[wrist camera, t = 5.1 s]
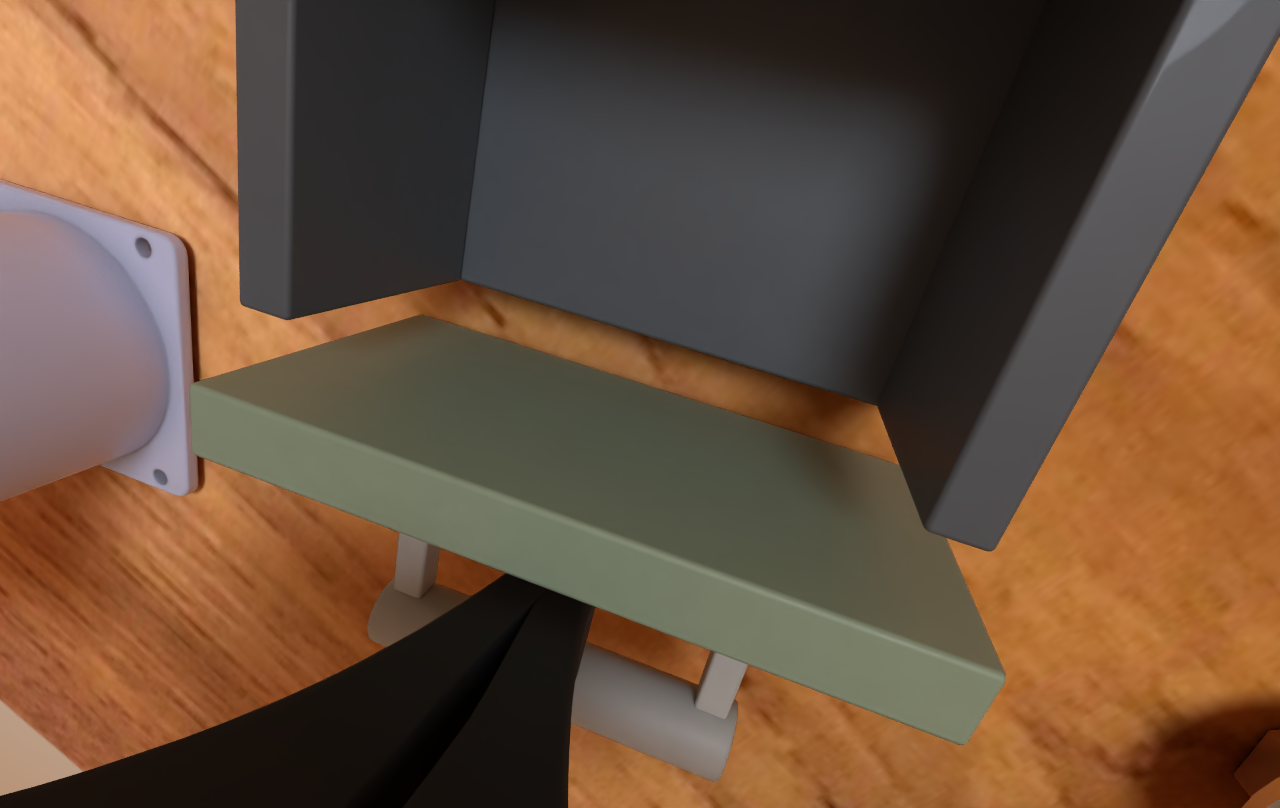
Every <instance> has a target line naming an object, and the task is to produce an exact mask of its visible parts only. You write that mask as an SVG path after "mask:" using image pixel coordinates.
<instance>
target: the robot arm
mask: <svg viewBox="0 0 1280 808" xmlns="http://www.w3.org/2000/svg"><path fill="white" fill-rule="evenodd" d="M192 383H194V377H193V356H192V335H191V313H190V292H189V271H188V255H187V250H186V248H185V246H184V244H183V242H182V241H181V240H180V239H179V238H178V237H177V236H176V235H174V234H172V233H170V232H166V231H163V230H160V229H157V228H154V227H151V226H147V225H144V224H141V223H138V222H135V221H132V220H128V219H125V218H122V217H119V216H116V215H112V214H109V213H106V212H103V211H100V210H97V209H93V208H90V207H87V206H84V205H81V204H78V203H74V202H71V201H68V200H65V199H62V198H59V197H55V196H52V195H49V194H46V193H43V192H40V191H36V190H33V189H30V188H27V187H24V186H21V185H17V184H14V183H11V182H8V181H5V180H2V179H0V502H2V501H4V500H7V499H10V498H12V497H15V496H18V495H20V494H23V493H26V492H28V491H31V490H34V489H36V488H39V487H41V486H44V485H47V484H49V483H52V482H55V481H57V480H60V479H63V478H65V477H68V476H71V475H73V474H76V473H79V472H81V471H84V470H87V469H89V468H92V467H95V466H97V465H100V466H102V467H105V468H107V469H110V470H112V471H115V472H118V473H120V474H123V475H125V476H128V477H130V478H133V479H135V480H138V481H140V482H143V483H146V484H148V485H151V486H153V487H156V488H158V489H161V490H163V491H166V492H168V493H171V494H173V495H176V496H181V497H182V496H185V495H187V494H189V493H192V492H194V491H195V490H196V489H197V488H198V462H197V456H196V455H195V454H194V453H193V451H192V442H191V422H190V403H189V387H190V385H191V384H192ZM594 610H595V607H594V606H592V605H589V604H586V603H584V602H581V601H579V600H576V599H573V598H571V597H568V596H565V595H563V594H560V593H557V592H555V591H552V590H550V589H547V588H544V587H542V586H539V585H536V584H534V583H531V582H528V581H526V580H523V579H521V578H518V577H515V576H513V575H510V574H507V573H505V574H504V575H503V576H501V577H500V578H498V579H497V580H495V581H494V582H492V583H491V584H489V585H488V586H486V587H485V588H483V589H482V590H480V591H479V592H477V593H476V594H474V595H473V596H471V597H470V598H468V599H467V600H465V601H464V602H462V603H461V604H459V605H457V606H456V607H454V608H453V609H451V610H449V611H448V612H446V613H444V614H443V615H441V616H440V617H438V618H436V619H435V620H433V621H431V622H430V623H428V624H427V625H425V626H423V627H422V628H420V629H418V630H416V631H415V632H413V633H411V634H410V635H408V636H406V637H404V638H402V639H400V640H399V641H397V642H395V643H393V644H391V645H390V646H388V647H386V648H384V649H382V650H380V651H379V652H377V653H375V654H373V655H371V656H370V657H368V658H366V659H364V660H362V661H360V662H358V663H356V664H354V665H352V666H350V667H348V668H346V669H345V670H343V671H341V672H339V673H337V674H334V675H332V676H330V677H328V678H326V679H324V680H322V681H320V682H318V683H316V684H313V685H311V686H309V687H307V688H305V689H303V690H300V691H298V692H296V693H294V694H292V695H289V696H287V697H285V698H283V699H280V700H278V701H276V702H273V703H271V704H268V705H266V706H264V707H261V708H259V709H256V710H254V711H251V712H249V713H247V714H244V715H242V716H239V717H237V718H234V719H232V720H230V721H227V722H225V723H222V724H220V725H217V726H214V727H212V728H209V729H207V730H204V731H201V732H199V733H196V734H193V735H191V736H188V737H185V738H183V739H180V740H177V741H174V742H171V743H168V744H165V745H162V746H159V747H156V748H153V749H150V750H147V751H144V752H141V753H138V754H135V755H133V756H130V757H127V758H124V759H121V760H118V761H115V762H112V763H109V764H106V765H103V766H100V767H97V768H94V769H91V770H88V771H85V772H81V773H78V774H75V775H72V776H69V777H65V778H62V779H59V780H55V781H52V782H49V783H45V784H42V785H38V786H35V787H31V788H28V789H24V790H21V791H17V792H13V793H9V794H6V795H2V796H0V808H568V768H569V745H570V728H571V715H572V703H573V694H574V686H575V680H576V677H577V674H578V671H579V667H580V663H581V659H582V655H583V652H584V648H585V644H586V640H587V636H588V633H589V629H590V625H591V621H592V617H593V614H594Z"/></svg>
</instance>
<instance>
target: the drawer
mask: <svg viewBox="0 0 1280 808" xmlns="http://www.w3.org/2000/svg"><path fill="white" fill-rule="evenodd" d="M235 4H236V70H237V137H238V203H239V269H240V302H241V304H242V305H243V306H245V307H248V308H251V309H254V310H257V311H260V312H263V313H266V314H269V315H272V316H276V317H279V318H282V319H285V320H291V319H295V318H300V317H304V316H308V315H312V314H317V313H321V312H325V311H330V310H334V309H338V308H342V307H347V306H351V305H355V304H359V303H364V302H368V301H372V300H377V299H381V298H385V297H389V296H394V295H398V294H402V293H407V292H411V291H415V290H419V289H424V288H428V287H432V286H437V285H441V284H445V283H449V282H454V281H458V280H459V279H460V280H463V281H467V282H470V283H473V284H476V285H480V286H483V287H486V288H490V289H493V290H496V291H499V292H503V293H506V294H509V295H513V296H516V297H519V298H523V299H526V300H529V301H532V302H536V303H539V304H542V305H546V306H549V307H552V308H556V309H559V310H562V311H565V312H569V313H572V314H575V315H579V316H582V317H585V318H589V319H592V320H595V321H598V322H602V323H605V324H608V325H612V326H615V327H618V328H622V329H625V330H628V331H631V332H635V333H638V334H641V335H645V336H648V337H651V338H655V339H658V340H661V341H664V342H668V343H671V344H674V345H678V346H681V347H684V348H687V349H691V350H694V351H697V352H701V353H704V354H707V355H711V356H714V357H717V358H720V359H724V360H727V361H730V362H734V363H737V364H740V365H744V366H747V367H750V368H753V369H757V370H760V371H763V372H767V373H770V374H773V375H777V376H780V377H783V378H786V379H790V380H793V381H796V382H800V383H803V384H806V385H810V386H813V387H816V388H819V389H823V390H826V391H829V392H833V393H836V394H839V395H842V396H846V397H849V398H852V399H856V400H859V401H862V402H866V403H869V404H872V405H875V406H878V409H879V412H880V414H881V417H882V420H883V422H884V425H885V428H886V430H887V433H888V435H889V438H890V441H891V443H892V446H893V449H894V451H895V454H896V456H897V459H898V462H899V464H900V465H897V464H894V463H891V462H888V461H885V460H881V459H878V458H875V457H872V456H869V455H866V454H862V453H859V452H856V451H853V450H850V449H847V448H843V447H840V446H837V445H834V444H831V443H828V442H825V441H821V440H818V439H815V438H812V437H809V436H806V435H802V434H799V433H796V432H793V431H790V430H787V429H783V428H780V427H777V426H774V425H771V424H768V423H764V422H761V421H758V420H755V419H752V418H749V417H745V416H742V415H739V414H736V413H733V412H730V411H726V410H723V409H720V408H717V407H714V406H711V405H707V404H704V403H701V402H698V401H695V400H692V399H688V398H685V397H682V396H679V395H676V394H673V393H670V392H666V391H663V390H660V389H657V388H654V387H651V386H647V385H644V384H641V383H638V382H635V381H632V380H628V379H625V378H622V377H619V376H616V375H613V374H609V373H606V372H603V371H600V370H597V369H594V368H590V367H587V366H584V365H581V364H578V363H575V362H571V361H568V360H565V359H562V358H559V357H556V356H552V355H549V354H546V353H543V352H540V351H537V350H533V349H530V348H527V347H524V346H521V345H518V344H514V343H511V342H508V341H505V340H502V339H499V338H496V337H492V336H489V335H486V334H483V333H480V332H477V331H473V330H470V329H467V328H464V327H461V326H458V325H454V324H451V323H448V322H445V321H442V320H439V319H435V318H432V317H429V316H426V315H423V314H422V315H417V316H414V317H411V318H407V319H404V320H401V321H398V322H394V323H391V324H388V325H384V326H381V327H378V328H374V329H371V330H368V331H364V332H361V333H358V334H354V335H351V336H348V337H344V338H341V339H338V340H334V341H331V342H328V343H324V344H321V345H318V346H314V347H311V348H308V349H304V350H301V351H298V352H294V353H291V354H288V355H284V356H281V357H278V358H274V359H271V360H268V361H264V362H261V363H258V364H254V365H251V366H248V367H244V368H241V369H238V370H235V371H231V372H228V373H225V374H221V375H218V376H215V377H211V378H208V379H205V380H201V381H198V382H195V383H192V384H191V385H190V387H189V403H190V422H191V442H192V451H193V453H194V454H195V455H196V456H199V457H202V458H204V459H207V460H209V461H212V462H215V463H217V464H220V465H223V466H225V467H228V468H231V469H233V470H236V471H238V472H241V473H244V474H246V475H249V476H252V477H254V478H257V479H260V480H262V481H265V482H267V483H270V484H273V485H275V486H278V487H281V488H283V489H286V490H289V491H291V492H294V493H296V494H299V495H302V496H304V497H307V498H310V499H312V500H315V501H318V502H320V503H323V504H325V505H328V506H331V507H333V508H336V509H339V510H341V511H344V512H347V513H349V514H352V515H354V516H357V517H360V518H362V519H365V520H368V521H370V522H373V523H376V524H378V525H381V526H383V527H386V528H389V529H391V530H394V531H397V532H399V538H398V548H397V558H396V567H395V577H394V578H393V579H392V580H391V581H390V582H389V583H388V584H387V585H386V587H385V588H384V589H383V591H382V592H381V594H380V595H379V597H378V599H377V601H376V603H375V605H374V607H373V609H372V612H371V615H370V618H369V622H368V627H367V633H368V637H369V638H370V640H371V641H373V642H375V643H378V644H380V645H383V646H385V647H388V646H390V645H391V644H393V643H395V642H397V641H399V640H400V639H402V638H404V637H406V636H408V635H410V634H411V633H413V632H415V631H416V630H418V629H420V628H422V627H423V626H425V625H427V624H428V623H430V622H431V621H433V620H435V619H436V618H438V617H440V616H441V615H443V614H444V613H446V612H448V611H449V610H451V609H453V608H454V607H456V606H457V605H459V604H461V603H462V602H464V601H465V600H467V599H468V598H470V597H471V596H469V595H466V594H464V593H461V592H458V591H456V590H453V589H451V588H448V587H446V586H443V585H440V584H438V583H435V582H436V576H437V568H438V561H439V553H440V548H441V549H444V550H447V551H449V552H452V553H455V554H457V555H460V556H463V557H465V558H468V559H470V560H473V561H476V562H478V563H481V564H484V565H486V566H489V567H492V568H494V569H497V570H499V571H502V572H505V573H507V574H510V575H513V576H515V577H518V578H521V579H523V580H526V581H528V582H531V583H534V584H536V585H539V586H542V587H544V588H547V589H550V590H552V591H555V592H557V593H560V594H563V595H565V596H568V597H571V598H573V599H576V600H579V601H581V602H584V603H586V604H589V605H592V606H594V607H597V608H600V609H602V610H605V611H608V612H610V613H613V614H615V615H618V616H621V617H623V618H626V619H629V620H631V621H634V622H637V623H639V624H642V625H644V626H647V627H650V628H652V629H655V630H658V631H660V632H663V633H666V634H668V635H671V636H674V637H676V638H679V639H681V640H684V641H687V642H689V643H692V644H695V645H697V646H700V647H703V648H705V649H708V650H710V651H711V652H710V654H709V657H708V660H707V663H706V665H705V668H704V671H703V673H702V676H701V679H700V682H699V685H697V684H695V683H692V682H690V681H687V680H684V679H682V678H679V677H677V676H674V675H672V674H669V673H666V672H664V671H661V670H659V669H656V668H654V667H651V666H648V665H646V664H643V663H641V662H638V661H636V660H633V659H630V658H628V657H625V656H623V655H620V654H618V653H615V652H612V651H610V650H607V649H605V648H602V647H600V646H597V645H594V644H592V643H589V642H587V641H586V644H585V648H584V652H583V655H582V659H581V663H580V667H579V671H578V674H577V677H576V680H575V686H574V694H573V703H572V715H571V724H574V725H576V726H579V727H581V728H584V729H586V730H588V731H591V732H593V733H596V734H598V735H601V736H603V737H605V738H608V739H610V740H613V741H615V742H618V743H620V744H622V745H625V746H627V747H630V748H632V749H634V750H637V751H639V752H642V753H644V754H647V755H649V756H651V757H654V758H656V759H659V760H661V761H664V762H666V763H668V764H671V765H673V766H676V767H678V768H680V769H683V770H685V771H688V772H690V773H693V774H695V775H697V776H700V777H702V778H705V779H707V780H710V781H712V782H717V781H718V780H719V778H720V777H721V775H722V773H723V771H724V768H725V765H726V762H727V759H728V756H729V753H730V749H731V745H732V742H733V737H734V733H735V728H736V722H737V716H738V703H737V701H736V700H735V696H736V694H737V691H738V689H739V686H740V684H741V681H742V679H743V676H744V674H745V671H746V669H747V666H748V665H750V666H753V667H755V668H758V669H761V670H763V671H766V672H768V673H771V674H774V675H776V676H779V677H782V678H784V679H787V680H790V681H792V682H795V683H797V684H800V685H803V686H805V687H808V688H811V689H813V690H816V691H819V692H821V693H824V694H826V695H829V696H832V697H834V698H837V699H840V700H842V701H845V702H848V703H850V704H853V705H855V706H858V707H861V708H863V709H866V710H869V711H871V712H874V713H877V714H879V715H882V716H884V717H887V718H890V719H892V720H895V721H898V722H900V723H903V724H906V725H908V726H911V727H913V728H916V729H919V730H921V731H924V732H927V733H929V734H932V735H935V736H937V737H940V738H942V739H945V740H948V741H950V742H953V743H956V744H958V745H964V744H966V743H967V742H968V740H969V739H970V737H971V736H972V734H973V732H974V731H975V729H976V728H977V726H978V724H979V723H980V721H981V720H982V718H983V716H984V715H985V713H986V712H987V710H988V708H989V707H990V705H991V704H992V702H993V701H994V699H995V697H996V696H997V694H998V693H999V691H1000V689H1001V688H1002V686H1003V685H1004V683H1005V678H1006V674H1005V671H1004V669H1003V667H1002V665H1001V662H1000V660H999V658H998V655H997V653H996V651H995V649H994V646H993V644H992V642H991V639H990V637H989V635H988V633H987V630H986V628H985V626H984V623H983V621H982V619H981V616H980V614H979V612H978V610H977V607H976V605H975V603H974V600H973V598H972V596H971V594H970V591H969V589H968V587H967V584H966V582H965V580H964V578H963V575H962V573H961V571H960V568H959V566H958V564H957V561H956V559H955V557H954V555H953V552H952V550H951V548H950V545H949V543H948V541H947V539H946V538H949V539H952V540H955V541H958V542H961V543H964V544H967V545H970V546H973V547H976V548H979V549H982V550H985V551H993V550H994V549H995V548H996V546H997V544H998V543H999V541H1000V539H1001V537H1002V535H1003V534H1004V532H1005V530H1006V528H1007V526H1008V525H1009V523H1010V521H1011V519H1012V517H1013V516H1014V514H1015V512H1016V510H1017V508H1018V507H1019V505H1020V503H1021V501H1022V499H1023V498H1024V496H1025V494H1026V492H1027V490H1028V489H1029V487H1030V485H1031V483H1032V481H1033V480H1034V478H1035V476H1036V474H1037V472H1038V471H1039V469H1040V467H1041V465H1042V463H1043V462H1044V460H1045V458H1046V456H1047V454H1048V453H1049V451H1050V449H1051V447H1052V445H1053V444H1054V442H1055V440H1056V438H1057V436H1058V435H1059V433H1060V431H1061V429H1062V427H1063V426H1064V424H1065V422H1066V420H1067V418H1068V417H1069V415H1070V413H1071V411H1072V409H1073V408H1074V406H1075V404H1076V402H1077V400H1078V399H1079V397H1080V395H1081V393H1082V391H1083V390H1084V388H1085V386H1086V384H1087V382H1088V381H1089V379H1090V377H1091V375H1092V373H1093V372H1094V370H1095V368H1096V366H1097V364H1098V363H1099V361H1100V359H1101V357H1102V355H1103V354H1104V352H1105V350H1106V348H1107V346H1108V345H1109V343H1110V341H1111V339H1112V337H1113V336H1114V334H1115V332H1116V330H1117V328H1118V327H1119V325H1120V323H1121V321H1122V319H1123V318H1124V316H1125V314H1126V312H1127V310H1128V309H1129V307H1130V305H1131V303H1132V301H1133V300H1134V298H1135V296H1136V294H1137V292H1138V291H1139V289H1140V287H1141V285H1142V283H1143V282H1144V280H1145V278H1146V276H1147V274H1148V273H1149V271H1150V269H1151V267H1152V265H1153V264H1154V262H1155V260H1156V258H1157V256H1158V255H1159V253H1160V251H1161V249H1162V247H1163V246H1164V244H1165V242H1166V240H1167V238H1168V237H1169V235H1170V233H1171V231H1172V229H1173V228H1174V226H1175V224H1176V222H1177V220H1178V219H1179V217H1180V215H1181V213H1182V211H1183V210H1184V208H1185V206H1186V204H1187V202H1188V201H1189V199H1190V197H1191V195H1192V193H1193V192H1194V190H1195V188H1196V186H1197V184H1198V183H1199V181H1200V179H1201V177H1202V175H1203V174H1204V172H1205V170H1206V168H1207V166H1208V165H1209V163H1210V161H1211V159H1212V157H1213V155H1214V154H1215V152H1216V150H1217V148H1218V146H1219V145H1220V143H1221V141H1222V139H1223V137H1224V136H1225V134H1226V132H1227V130H1228V128H1229V127H1230V125H1231V123H1232V121H1233V119H1234V118H1235V116H1236V114H1237V112H1238V110H1239V109H1240V107H1241V105H1242V103H1243V101H1244V100H1245V98H1246V96H1247V94H1248V92H1249V91H1250V89H1251V87H1252V85H1253V83H1254V82H1255V80H1256V78H1257V76H1258V74H1259V73H1260V71H1261V69H1262V67H1263V65H1264V64H1265V62H1266V60H1267V58H1268V56H1269V55H1270V53H1271V51H1272V49H1273V47H1274V46H1275V44H1276V42H1277V40H1278V38H1279V37H1280V0H235Z"/></svg>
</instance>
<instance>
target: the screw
mask: <svg viewBox="0 0 1280 808" xmlns="http://www.w3.org/2000/svg"><path fill="white" fill-rule="evenodd" d="M1234 777H1235V778H1236V779H1237V781H1238V782H1239V783H1240V785H1241V786H1242V787H1243V788H1244V790H1245V791H1246V792H1247V794H1248V795H1249V796H1250V799H1249V800H1248V801H1247V802H1246V803H1245V805H1244V806H1243V807H1242V808H1280V730H1269V731H1268V732H1267V733H1266V734H1265V736H1264V737H1263V738H1262V739H1261V741H1260V742H1259V743H1258V744H1257V746H1256V747H1255V748H1254V749H1253V751H1252V752H1251V753H1250V754H1249V756H1248V757H1247V758H1246V759H1245V761H1244V762H1243V763H1242V764H1241V766H1240V767H1239V768H1238V769H1237V770H1236V772H1235V773H1234Z"/></svg>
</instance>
